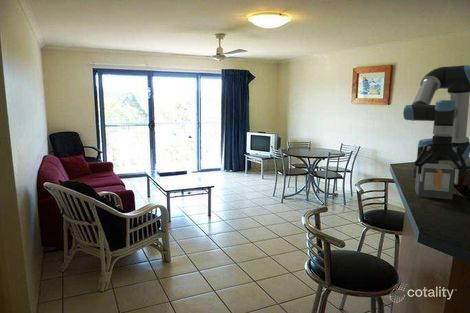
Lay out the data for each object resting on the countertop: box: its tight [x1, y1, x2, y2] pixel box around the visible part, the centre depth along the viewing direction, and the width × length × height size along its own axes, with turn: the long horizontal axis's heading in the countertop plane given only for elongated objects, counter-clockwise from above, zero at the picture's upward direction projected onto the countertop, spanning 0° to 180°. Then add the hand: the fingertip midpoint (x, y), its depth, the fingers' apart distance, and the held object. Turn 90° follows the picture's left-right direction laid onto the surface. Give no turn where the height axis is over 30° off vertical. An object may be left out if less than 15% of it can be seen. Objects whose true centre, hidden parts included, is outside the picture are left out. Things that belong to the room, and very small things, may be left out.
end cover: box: [424, 169, 450, 192], centre depth 158 cm, size 19×10×10 cm, turn 158°
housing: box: [414, 163, 456, 200], centre depth 163 cm, size 14×14×14 cm
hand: (438, 182), depth 152 cm, fingers open, 13 cm apart
